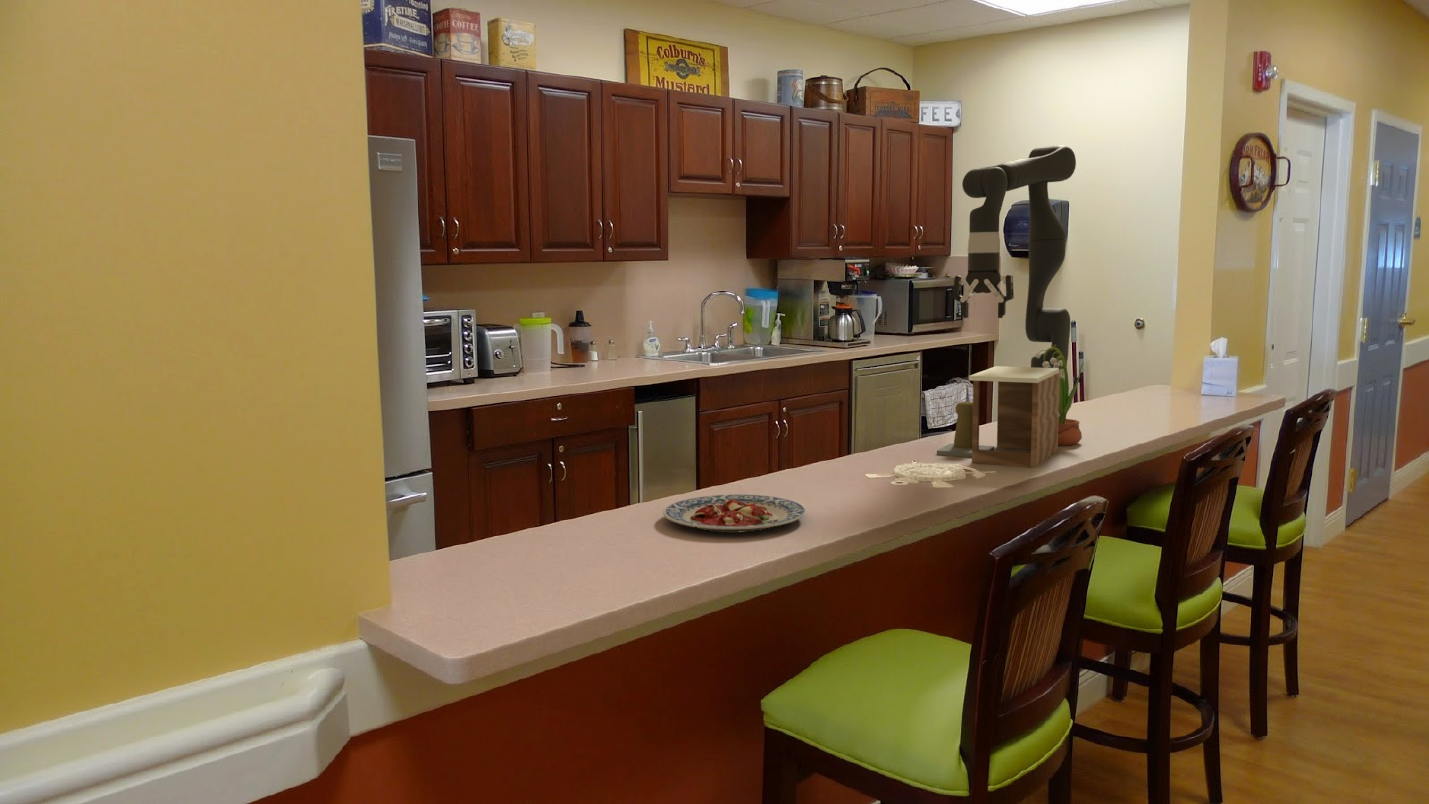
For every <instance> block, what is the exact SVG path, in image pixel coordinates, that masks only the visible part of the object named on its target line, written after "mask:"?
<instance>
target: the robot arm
mask: <svg viewBox="0 0 1429 804" xmlns="http://www.w3.org/2000/svg"><path fill="white" fill-rule="evenodd" d="M1076 165H1077V160H1076V154H1075V152H1074V151H1073V149H1072V148H1070V146H1067V145H1062V144H1061V145H1051V146H1040V147H1035V148H1034V149H1033V148H1032V150H1031V151H1030V153H1029V155H1028V158H1021V159H1014V160H1010V161H1005V162H1002V163H999V164H997V165H991V166H986V167H985V166H983V167H978V168H973V169H970V170H969V171H967V172H966V174H965V175H964V177H963V178H962V183H961V184H962V185H961V186H962V189H963V192H964V193H965V195H966V196H968V197H970V198H973V199H981V198H983V199H984V198H985V199H984V201H983V204H982V205H981V206H978V207H976V208H974V209H972V210H971V211H970V213H969V231H968V232H969V235H968V240H967V243H968V244H967V274H966V276H962V275H956V276H954V282H953V283H954V284H953V296H952V298H953V300H954V301H958V302H959V303H960V315H961V316H962V318H963V319H967V318H969V307H970V306H969V302H968V301H969V299H971V297H972V296H973V295H974V293H975V294H982V293H984V294H991V293H992V294H993V295H992V296H994V297H995V298H996V299H997V300H998V302H997V318H998V319H1003V317H1005V316H1006V310H1007V309H1006V307H1007V305H1006V304H1007V302H1009V301H1011V300H1013V299H1014V298H1015V294H1014V293H1015V292H1014V276H1013V275H1012V274H1007V275H1001V273H1000V269H1001V268H1000V267H1001V266H1000V260H1001V240H1000V239H1001V238H1000V215H1001V211H1002V207H1003V202H1004V200H1005V196H1006V193H1007V192H1010V191H1014V190H1018V189H1021V188H1024V187H1026V186H1028V201H1029V231H1028V233H1029V235H1028V286H1027V288H1028V290H1027V300H1026V311H1025V322H1024V323H1025V324H1024V326H1025V329H1024V330H1025V333H1026V334H1025V335H1026V338H1027V340H1028V341H1030V342H1033V343H1051V345H1050V348H1052V346H1053V345H1056V346H1053V347H1055V348H1058V349H1059V350H1060V351H1061V353H1062V355H1063V357H1064V359H1065V362H1066V366H1067V367H1068V359H1069V346H1070V337H1071V315H1070V313H1069V311H1068V310H1067V309H1066V308H1063V307H1044V301H1045V295H1046V292H1047V289H1048V288H1049V286H1050V284H1051V282H1052V280H1053V279H1054V278H1055V276H1056V274H1057V273H1058V272H1059V270H1060V268H1061V267H1062V265H1063V262H1064V261H1065V258H1066V230H1065V228H1064V226H1063V224H1062V222H1061V220H1060V219H1059V217H1058V215H1057V214H1056V212H1055V210H1054V209H1053V206H1052V205H1051V202H1050V198H1049V190H1048V187H1049V186H1048V183H1058V182H1063V181H1067V180H1068V179H1070V178H1072V176H1073V174H1074V172H1075V170H1076V167H1077V166H1076ZM1001 281H1002V283H1003V285H1005V295H1004V294H1003V292H1002V290H1001V289H1000V288H999V286H998V285H999V284H1000V282H1001ZM965 282H966V283H967V284H968V288H967V289H966V290H965V292H964V294H963V295H962V286H963V285H964V284H965ZM1054 352H1056V350H1049V351H1048V352H1047V353H1046V356H1045V361H1046V362H1049V364H1050V366H1051V367H1048V368H1053V367H1054V364H1052V365H1051V362H1050V360H1051V358H1052V355H1053V353H1054ZM1040 354H1041V356H1040V359H1039V358H1036V357H1034V356H1032V357H1031V358H1030V359H1031V360H1030V367H1034V368H1044V367H1043V362H1044V354H1045V352H1044V353H1040ZM1058 356H1060V355H1059V353H1058V352H1057V353H1055V354H1054V355H1053V358H1057V357H1058ZM1057 360H1058V358H1057ZM1058 361H1060V358H1059V360H1058ZM1061 361H1062V359H1061ZM1057 363H1058V362H1057ZM1062 366H1063V365H1062ZM1060 367H1061V366H1059V369H1060ZM1063 371H1064V367H1062V368H1061V369H1060V371H1059V372H1060V374H1061V375H1062V373H1063ZM1063 376H1064V377H1065V375H1064V373H1063ZM1059 416H1060V414H1059Z"/></svg>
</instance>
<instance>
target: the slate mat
mask: <svg viewBox="0 0 1429 804" xmlns="http://www.w3.org/2000/svg"><path fill="white" fill-rule="evenodd" d="M953 445H954V443H948V444H947V445H945V446H942V447H941V448H939V449H936V455H938V456H948V457H949V456H951V457H962V458H963V457H965V458H972V448H969V449H966V448H956V447H954V446H953ZM979 449H981V450H995V446H992V445H980V444H979Z"/></svg>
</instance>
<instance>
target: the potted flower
mask: <svg viewBox="0 0 1429 804" xmlns="http://www.w3.org/2000/svg"><path fill="white" fill-rule="evenodd" d="M1053 346H1056V345H1053ZM1053 346H1052V348H1051V347H1049V348H1047V349H1041V350H1039V352H1036V353H1034V356H1033V357H1036V358H1039V359H1040V356H1041V354H1042V353H1040V352H1043V351H1044V353H1045V354H1044V362H1043V367H1044V368H1048V367H1051V366H1050V364H1049V362H1046V361H1045V356H1046V353H1047V352H1048V351H1049V350H1056V352H1054V353H1053V355H1054V354H1055V353H1057V352H1058V353H1059V355H1060V356H1058V357H1057V358H1058V360H1059V358H1060V361H1058V360H1057V358H1053V355H1052V358H1051V360H1050V362H1051V365H1052V364H1054V367H1053V368H1059V366H1061V367H1060V369H1061V368H1062V367H1064V371H1063V373H1064V375H1065V377H1064V376H1063V373H1062V375H1061V374H1060V385H1059V414H1060V416H1059V423H1058V446H1072V445H1076V444H1078V443H1079V442H1080V441H1081V440H1082V439H1083V436H1082V431H1081V429H1080V423H1081V422H1080V420H1077V419H1071V418H1067V414H1068V413H1069V410H1070V408H1072V404H1073V400H1074V396H1075V393H1076V391H1077V387H1078V385H1079V380H1080V377H1081V371H1082V369H1083V365H1084V362H1082V363H1081V365H1080V368H1079V372H1078V377H1077V379H1076V381H1075V384H1074V386H1073V388H1072V389H1071V391H1070V393H1069V390H1070V389H1069V388H1070V386H1069V385H1070V383H1069V374H1068V373H1069V372H1068V365H1067V366H1066V362H1065V359H1064V357H1063V355H1062V353H1061V351H1060V350H1059V349H1058V348H1055V347H1053ZM1061 359H1062V361H1061ZM1057 362H1058V363H1057ZM1062 365H1063V366H1062ZM1060 369H1059V371H1060Z"/></svg>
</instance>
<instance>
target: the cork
mask: <svg viewBox="0 0 1429 804" xmlns="http://www.w3.org/2000/svg"><path fill="white" fill-rule="evenodd" d="M955 413H956V415H957V419H956V427H955V432H954V439H953V444H954V445H953V446H954V447H956V448H966V449H969V448H972V428H973V401H965V400H963V401H960V402H958V403H956V405H955Z"/></svg>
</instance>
